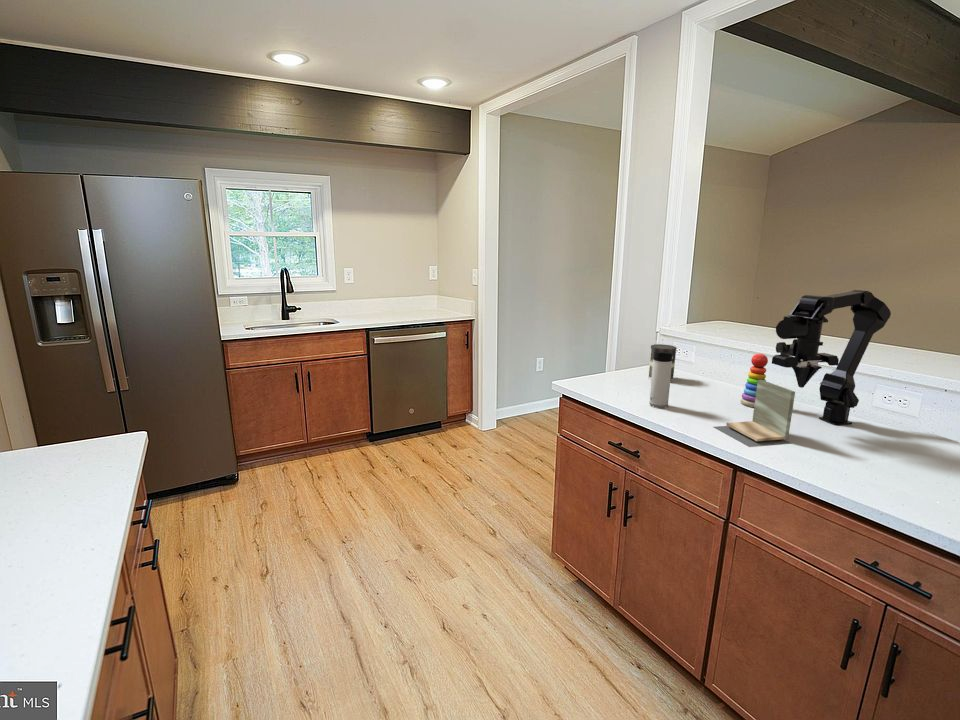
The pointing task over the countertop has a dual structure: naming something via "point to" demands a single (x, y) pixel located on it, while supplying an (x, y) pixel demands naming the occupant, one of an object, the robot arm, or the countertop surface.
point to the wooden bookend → (768, 413)
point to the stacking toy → (754, 379)
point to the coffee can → (662, 349)
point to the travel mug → (660, 379)
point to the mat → (748, 438)
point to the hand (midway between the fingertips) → (800, 387)
